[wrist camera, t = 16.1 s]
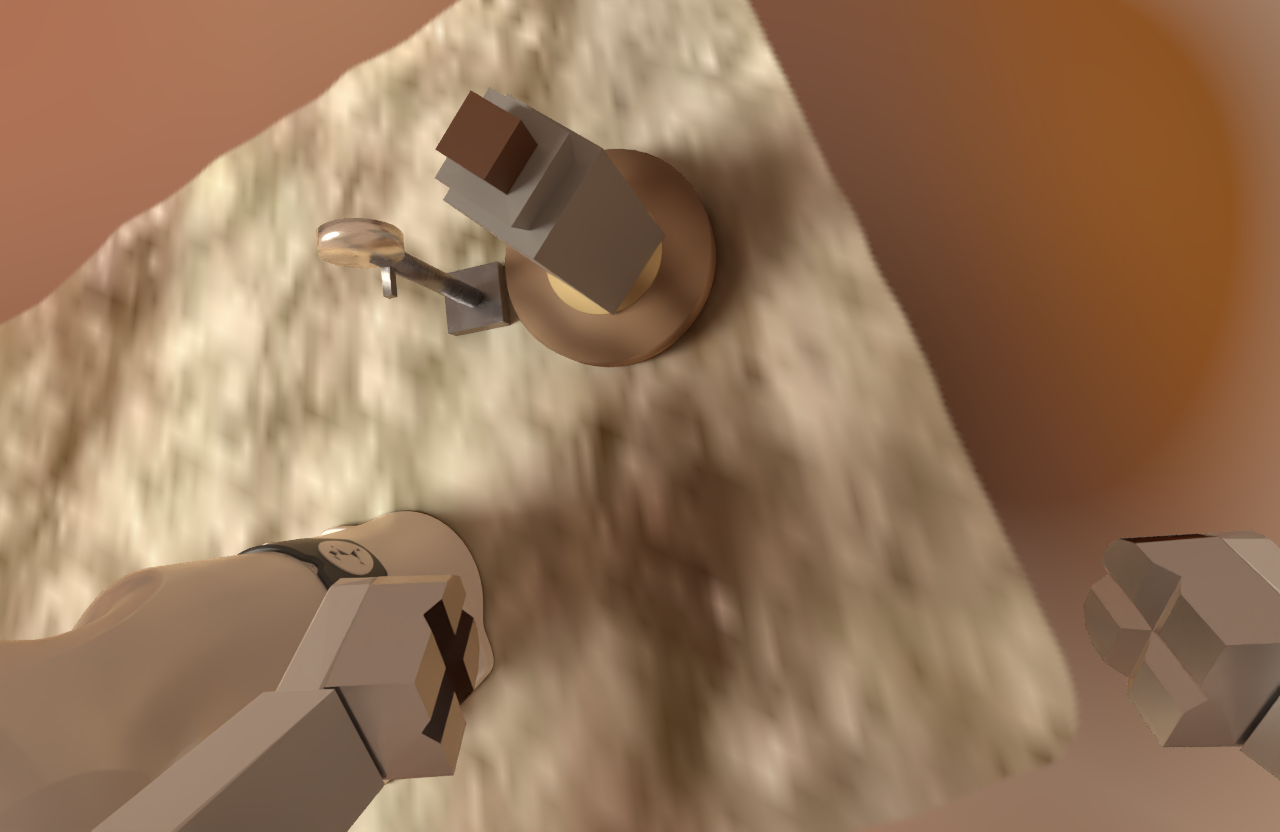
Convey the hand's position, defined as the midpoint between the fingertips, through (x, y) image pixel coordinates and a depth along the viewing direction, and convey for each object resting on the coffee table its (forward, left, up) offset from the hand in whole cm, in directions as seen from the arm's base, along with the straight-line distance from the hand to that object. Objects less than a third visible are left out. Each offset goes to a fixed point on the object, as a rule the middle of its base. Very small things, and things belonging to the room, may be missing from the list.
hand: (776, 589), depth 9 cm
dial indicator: (-2, +31, -40) cm, 50 cm away
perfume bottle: (+6, +22, -36) cm, 43 cm away
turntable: (+6, +22, -40) cm, 46 cm away
